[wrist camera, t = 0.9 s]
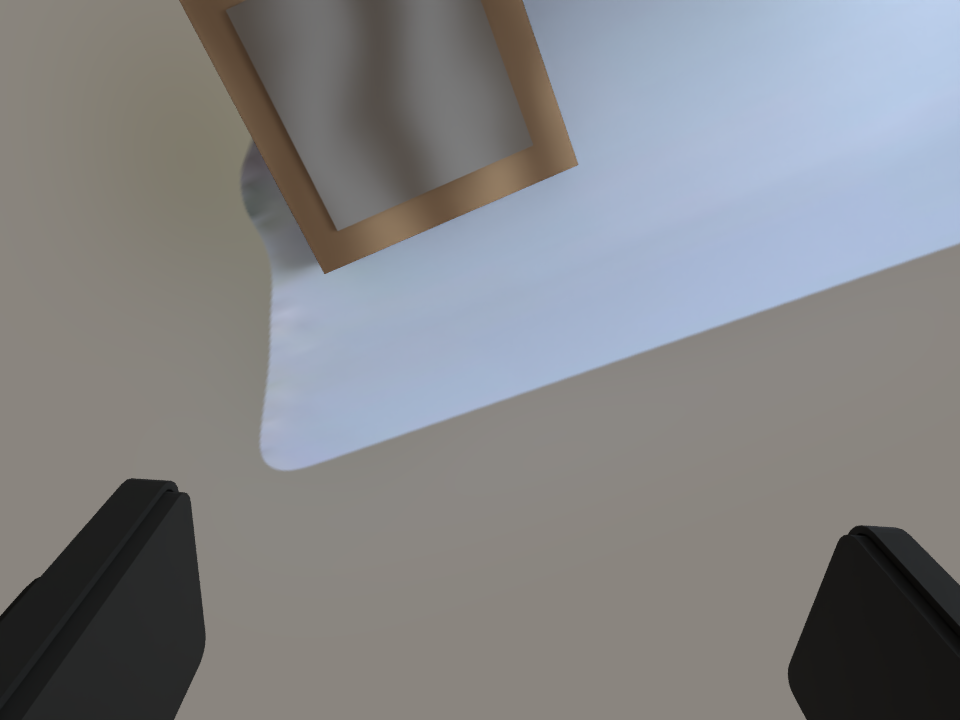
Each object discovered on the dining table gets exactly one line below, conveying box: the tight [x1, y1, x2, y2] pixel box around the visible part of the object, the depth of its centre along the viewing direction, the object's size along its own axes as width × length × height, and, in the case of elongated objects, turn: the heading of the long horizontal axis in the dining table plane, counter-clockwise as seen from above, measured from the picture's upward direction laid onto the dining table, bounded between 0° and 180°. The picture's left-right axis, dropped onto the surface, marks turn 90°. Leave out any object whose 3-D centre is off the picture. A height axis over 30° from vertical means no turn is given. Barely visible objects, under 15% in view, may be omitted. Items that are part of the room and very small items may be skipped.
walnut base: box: [179, 0, 578, 274], centre depth 35 cm, size 16×16×4 cm
